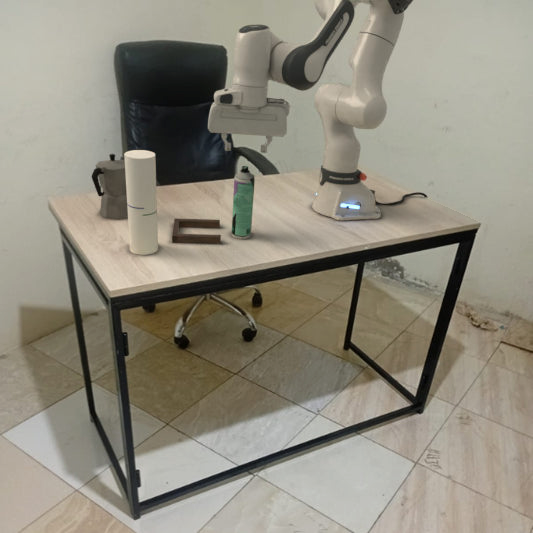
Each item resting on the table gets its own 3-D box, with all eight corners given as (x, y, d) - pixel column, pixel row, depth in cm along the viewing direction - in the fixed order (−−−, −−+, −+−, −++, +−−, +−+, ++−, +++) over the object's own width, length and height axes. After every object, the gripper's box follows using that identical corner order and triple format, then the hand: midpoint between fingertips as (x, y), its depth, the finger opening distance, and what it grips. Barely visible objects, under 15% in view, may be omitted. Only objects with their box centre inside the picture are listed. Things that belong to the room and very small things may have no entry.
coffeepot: (116, 203, 157) (113, 146, 148) (142, 209, 154) (140, 151, 145) (83, 220, 144) (77, 158, 135) (110, 227, 141) (105, 164, 133)
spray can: (251, 232, 146) (256, 164, 136) (249, 240, 141) (254, 170, 131) (233, 230, 146) (236, 162, 136) (230, 237, 141) (233, 168, 132)
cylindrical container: (132, 242, 134) (126, 149, 122) (159, 243, 135) (156, 150, 123) (127, 254, 128) (122, 157, 116) (156, 255, 128) (153, 159, 117)
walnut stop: (219, 225, 148) (219, 219, 147) (220, 243, 137) (220, 237, 136) (174, 224, 146) (174, 218, 145) (172, 242, 136) (172, 235, 135)
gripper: (288, 97, 130) (283, 150, 136) (208, 91, 127) (207, 145, 133) (292, 101, 124) (286, 156, 131) (208, 95, 121) (207, 152, 128)
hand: (245, 151), depth 132 cm, fingers open, 8 cm apart
